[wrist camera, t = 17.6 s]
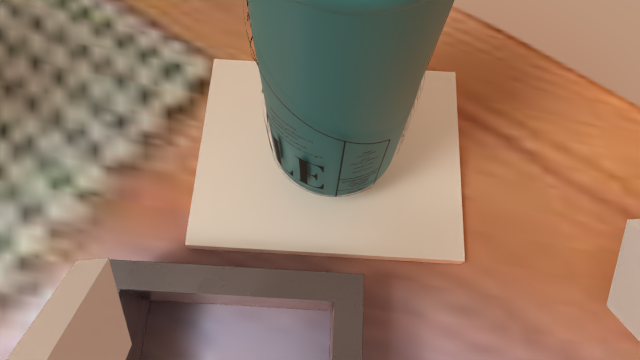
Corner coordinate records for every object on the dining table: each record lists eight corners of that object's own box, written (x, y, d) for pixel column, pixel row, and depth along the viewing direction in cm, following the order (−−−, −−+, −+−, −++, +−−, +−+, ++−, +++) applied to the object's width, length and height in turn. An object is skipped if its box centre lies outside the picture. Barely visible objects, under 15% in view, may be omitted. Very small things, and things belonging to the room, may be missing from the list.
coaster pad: (188, 248, 25) (184, 244, 24) (216, 66, 29) (214, 58, 28) (460, 264, 25) (464, 261, 24) (451, 79, 29) (455, 72, 28)
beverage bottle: (407, 122, 27) (641, -439, 8) (368, 231, 24) (562, -188, 6) (298, 84, 27) (274, -514, 9) (250, 187, 25) (77, -316, 6)
